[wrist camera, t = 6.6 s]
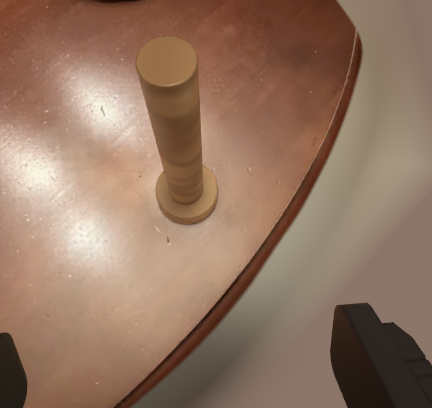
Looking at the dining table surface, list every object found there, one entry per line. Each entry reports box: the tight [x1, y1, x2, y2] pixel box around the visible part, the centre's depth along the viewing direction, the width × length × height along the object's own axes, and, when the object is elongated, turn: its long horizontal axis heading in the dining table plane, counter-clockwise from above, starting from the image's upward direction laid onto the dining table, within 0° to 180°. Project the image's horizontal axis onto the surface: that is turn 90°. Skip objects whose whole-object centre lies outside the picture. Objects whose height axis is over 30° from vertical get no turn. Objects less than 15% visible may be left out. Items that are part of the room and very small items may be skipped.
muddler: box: [136, 36, 218, 224], centre depth 22 cm, size 4×4×15 cm
